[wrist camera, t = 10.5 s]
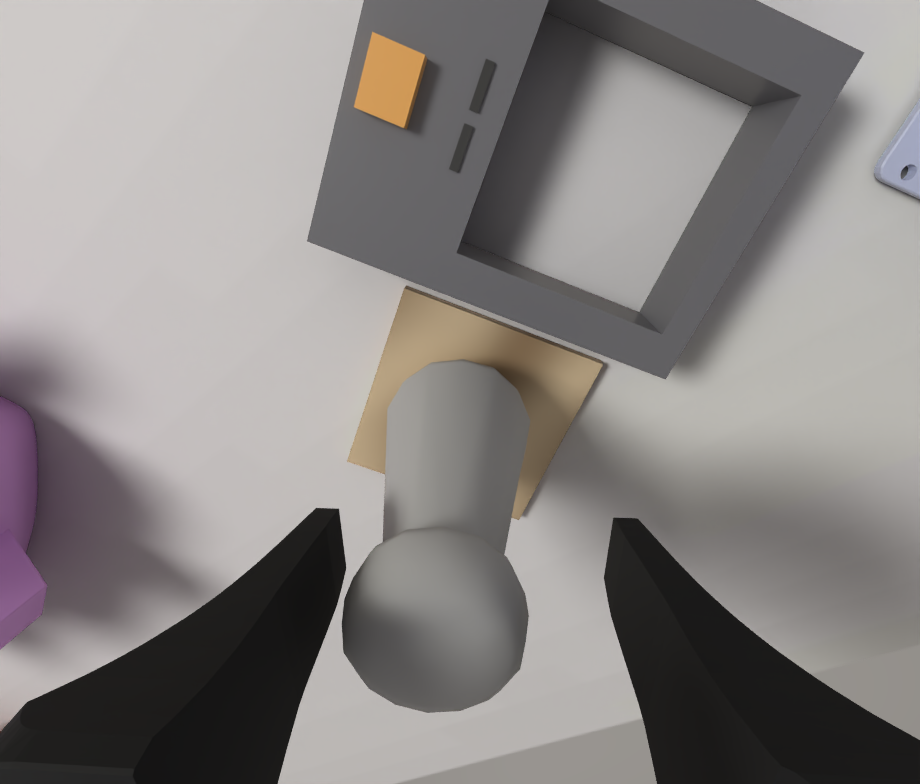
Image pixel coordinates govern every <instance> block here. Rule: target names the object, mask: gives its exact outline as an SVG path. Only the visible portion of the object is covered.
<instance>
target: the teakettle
mask: <svg viewBox="0 0 920 784" xmlns="http://www.w3.org/2000/svg"><path fill="white" fill-rule="evenodd" d="M37 495H38V457H37V441H36V433H35V428H34V424H33V421H32V419H31V417H30V415H29V414H28V412H27V411H26V410H25V409H24V408H22V407H20V406H19V405H17V404H15V403H14V402H12V401H10V400H7V399H5V398H3V397H1V396H0V649H1V648H3V647H4V646H5V645H6V644H7V643H9V642H10V641H11V640H12V639H13V638H14V637H16V636H17V635H18V634H19V633H20V632H21V631H23V630H24V629H25V628H26V627H27V626H29V625H30V624H31V623H32V622H33V621H34V620H36V619H37V618H38V617H39V616H40V615H42V611H43V606H44V601H45V595H46V590H47V584H46V582H45V581H44V579H43V578H42V576H41V575H40V573H39V572H38V570H37V569H36V567H35V566H34V565H33V563H32V562H31V560H30V559H29V557H28V556H27V554H26V551H27V547H28V544H29V541H30V537H31V533H32V529H33V525H34V521H35V515H36V508H37Z"/></svg>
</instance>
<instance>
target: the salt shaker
mask: <svg viewBox="0 0 920 784" xmlns="http://www.w3.org/2000/svg"><path fill="white" fill-rule="evenodd" d="M529 426H530V418H529V416H528V413H527V411H526V409H525V406H524V404H523V401H522V399H521V396H520V394H519V392H518V390H517V389H516V388H515V387H514V386H513V385H512V384H511V383H510V382H509V381H508V380H507V379H506V378H505V377H504V376H503V375H501V374H500V373H499V372H498V371H497V370H496V369H495V368H493V367H490V366H486V365H483V364H479V363H476V362H472V361H468V360H465V359H459V360H450V361H440V362H431V363H430V364H428V365H427V366H425V367H424V368H422V369H421V370H419V371H418V372H416V373H415V374H413V375H412V376H410V377H409V378H407V379H406V380H405V381H404V382H403V383H402V385H401V387H400V388H399V390H398V392H397V393H396V395H395V397H394V398H393V400H392V402H391V403H390V405H389V407H388V408H387V436H386V465H385V494H384V522H383V542H382V543H381V544H379V545H377V546H376V547H375V548H374V549H373V550H372V551H371V552H370V554H369V555H368V557H367V558H366V560H365V561H364V563H363V564H362V566H361V567H360V569H359V570H358V572H357V573H356V575H355V576H354V578H353V580H352V582H351V585H350V587H349V589H348V592H347V594H346V597H345V600H344V609H343V618H342V634H343V651H344V654H345V655H346V657H347V658H348V660H349V661H350V663H351V664H352V666H353V667H354V669H355V670H356V672H357V673H358V675H359V676H360V678H361V679H362V680H363V681H364V683H365V684H366V685H367V687H368V688H369V689H371V690H372V691H374V692H376V693H377V694H379V695H380V696H382V697H384V698H385V699H387V700H389V701H390V702H392V703H394V704H395V705H399V706H403V707H407V708H411V709H415V710H419V711H423V712H427V713H430V712H448V711H461V710H464V709H466V708H469V707H471V706H474V705H477V704H479V703H482V702H485V701H487V700H489V699H490V698H492V697H493V696H494V695H495V694H497V693H498V692H499V691H500V690H501V689H502V688H503V687H504V686H505V685H506V684H507V683H508V682H509V680H510V679H511V678H512V677H513V676H514V675H515V674H516V673H517V672H518V671H519V670H520V667H521V662H522V657H523V652H524V647H525V642H526V634H527V625H528V617H529V615H528V609H527V602H526V596H525V593H524V591H523V588H522V586H521V584H520V582H519V580H518V578H517V576H516V574H515V572H514V569H513V567H512V565H511V564H510V562H509V560H508V558H507V557H506V556H505V555H504V553H505V548H506V543H507V537H508V532H509V527H510V522H511V517H512V512H513V507H514V502H515V497H516V491H517V486H518V481H519V476H520V472H521V467H522V463H523V459H524V454H525V450H526V445H527V438H528V432H529Z"/></svg>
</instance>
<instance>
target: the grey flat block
mask: <svg viewBox="0 0 920 784" xmlns="http://www.w3.org/2000/svg"><path fill="white" fill-rule="evenodd" d="M544 12H547V13H549V14H552V15H554V16H556V17H558V18H560V19H563V20H565V21H567V22H569V23H571V24H573V25H576V26H578V27H580V28H582V29H584V30H587V31H589V32H591V33H593V34H595V35H597V36H600V37H602V38H604V39H606V40H608V41H611V42H613V43H615V44H617V45H619V46H621V47H624V48H626V49H628V50H630V51H632V52H635V53H637V54H639V55H641V56H643V57H645V58H648V59H650V60H652V61H654V62H656V63H659V64H661V65H663V66H665V67H667V68H669V69H672V70H674V71H676V72H678V73H680V74H683V75H685V76H687V77H689V78H691V79H693V80H696V81H698V82H700V83H702V84H704V85H707V86H709V87H711V88H713V89H715V90H717V91H720V92H722V93H724V94H726V95H728V96H731V97H733V98H735V99H737V100H739V101H741V102H744V103H746V104H748V105H750V106H752V108H751V110H750V112H749V114H748V116H747V117H746V119H745V121H744V123H743V125H742V127H741V128H740V130H739V132H738V134H737V136H736V137H735V139H734V141H733V143H732V145H731V147H730V148H729V150H728V152H727V154H726V156H725V157H724V159H723V161H722V163H721V165H720V167H719V168H718V170H717V172H716V174H715V176H714V178H713V179H712V181H711V183H710V185H709V187H708V188H707V190H706V192H705V194H704V196H703V198H702V199H701V201H700V203H699V205H698V207H697V209H696V210H695V212H694V214H693V216H692V218H691V219H690V221H689V223H688V225H687V227H686V229H685V230H684V232H683V234H682V236H681V238H680V239H679V241H678V243H677V245H676V247H675V249H674V250H673V252H672V254H671V256H670V258H669V260H668V261H667V263H666V265H665V267H664V269H663V270H662V272H661V274H660V276H659V278H658V280H657V281H656V283H655V285H654V287H653V289H652V291H651V292H650V294H649V296H648V298H647V300H646V301H645V303H644V305H643V307H642V309H641V311H640V312H637V311H634V310H632V309H629V308H627V307H624V306H622V305H619V304H617V303H614V302H612V301H609V300H607V299H604V298H602V297H599V296H597V295H594V294H592V293H589V292H587V291H584V290H582V289H579V288H577V287H574V286H572V285H569V284H567V283H564V282H562V281H559V280H557V279H554V278H552V277H549V276H546V275H544V274H541V273H539V272H536V271H534V270H531V269H529V268H526V267H524V266H521V265H519V264H516V263H514V262H511V261H509V260H506V259H504V258H501V257H499V256H496V255H494V254H491V253H489V252H486V251H484V250H481V249H479V248H476V247H474V246H471V245H469V244H466V243H464V242H461V239H462V236H463V234H464V231H465V228H466V225H467V223H468V220H469V217H470V214H471V212H472V209H473V206H474V204H475V201H476V198H477V195H478V193H479V190H480V187H481V184H482V182H483V179H484V176H485V173H486V171H487V168H488V165H489V162H490V160H491V157H492V154H493V152H494V149H495V146H496V143H497V141H498V138H499V135H500V132H501V130H502V127H503V124H504V121H505V119H506V116H507V113H508V110H509V108H510V105H511V102H512V100H513V97H514V94H515V91H516V89H517V86H518V83H519V80H520V78H521V75H522V72H523V69H524V67H525V64H526V61H527V58H528V56H529V53H530V50H531V48H532V45H533V42H534V39H535V37H536V34H537V31H538V28H539V26H540V23H541V20H542V17H543V15H544ZM863 54H864V52H862V51H860V50H858V49H856V48H854V47H852V46H849V45H847V44H845V43H843V42H841V41H839V40H837V39H835V38H833V37H831V36H829V35H827V34H825V33H823V32H821V31H818V30H816V29H814V28H812V27H810V26H808V25H806V24H804V23H802V22H800V21H798V20H796V19H794V18H792V17H790V16H787V15H785V14H783V13H781V12H779V11H777V10H775V9H773V8H771V7H769V6H767V5H765V4H763V3H761V2H759V1H756V0H364V2H363V7H362V11H361V15H360V19H359V23H358V28H357V32H356V36H355V40H354V45H353V49H352V53H351V57H350V62H349V66H348V70H347V74H346V79H345V83H344V87H343V91H342V96H341V100H340V104H339V108H338V112H337V117H336V121H335V125H334V129H333V134H332V138H331V142H330V146H329V151H328V155H327V159H326V163H325V168H324V172H323V176H322V180H321V185H320V189H319V193H318V197H317V201H316V206H315V210H314V214H313V218H312V223H311V227H310V231H309V235H308V240H307V241H308V242H311V243H313V244H316V245H318V246H321V247H324V248H326V249H329V250H331V251H334V252H337V253H339V254H342V255H344V256H347V257H350V258H352V259H355V260H357V261H360V262H363V263H365V264H368V265H370V266H373V267H375V268H378V269H381V270H383V271H386V272H388V273H391V274H394V275H396V276H399V277H401V278H404V279H407V280H409V281H412V282H414V283H417V284H420V285H422V286H425V287H427V288H430V289H432V290H435V291H438V292H440V293H443V294H445V295H448V296H451V297H453V298H456V299H458V300H461V301H464V302H466V303H469V304H471V305H474V306H477V307H479V308H482V309H484V310H487V311H490V312H492V313H495V314H497V315H500V316H502V317H505V318H508V319H510V320H513V321H515V322H518V323H521V324H523V325H526V326H528V327H531V328H534V329H536V330H539V331H541V332H544V333H547V334H549V335H552V336H554V337H557V338H560V339H562V340H565V341H567V342H570V343H572V344H575V345H578V346H580V347H583V348H585V349H588V350H591V351H593V352H596V353H598V354H601V355H604V356H606V357H609V358H611V359H614V360H617V361H619V362H622V363H624V364H627V365H629V366H632V367H635V368H637V369H640V370H642V371H645V372H648V373H650V374H653V375H655V376H658V377H661V378H663V379H666V378H667V376H668V374H669V373H670V371H671V369H672V368H673V366H674V365H675V363H676V361H677V360H678V358H679V356H680V355H681V353H682V351H683V350H684V348H685V346H686V345H687V343H688V342H689V340H690V338H691V337H692V335H693V333H694V332H695V330H696V328H697V327H698V325H699V323H700V322H701V320H702V319H703V317H704V315H705V314H706V312H707V310H708V309H709V307H710V305H711V304H712V302H713V300H714V299H715V297H716V296H717V294H718V292H719V291H720V289H721V287H722V286H723V284H724V282H725V281H726V279H727V277H728V276H729V274H730V273H731V271H732V269H733V268H734V266H735V264H736V263H737V261H738V259H739V258H740V256H741V254H742V253H743V251H744V250H745V248H746V246H747V245H748V243H749V241H750V240H751V238H752V236H753V235H754V233H755V231H756V230H757V228H758V227H759V225H760V223H761V222H762V220H763V218H764V217H765V215H766V213H767V212H768V210H769V208H770V207H771V205H772V204H773V202H774V200H775V199H776V197H777V195H778V194H779V192H780V190H781V189H782V187H783V185H784V184H785V182H786V181H787V179H788V177H789V176H790V174H791V172H792V171H793V169H794V167H795V166H796V164H797V162H798V161H799V159H800V158H801V156H802V154H803V153H804V151H805V149H806V148H807V146H808V144H809V143H810V141H811V139H812V138H813V136H814V135H815V133H816V131H817V130H818V128H819V126H820V125H821V123H822V121H823V120H824V118H825V116H826V115H827V113H828V112H829V110H830V108H831V107H832V105H833V103H834V102H835V100H836V98H837V97H838V95H839V93H840V92H841V90H842V89H843V87H844V85H845V84H846V82H847V80H848V79H849V77H850V75H851V74H852V72H853V70H854V69H855V67H856V66H857V64H858V62H859V61H860V59H861V57H862V56H863Z"/></svg>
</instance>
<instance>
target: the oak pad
mask: <svg viewBox="0 0 920 784" xmlns="http://www.w3.org/2000/svg"><path fill="white" fill-rule="evenodd" d="M459 359H465V360H468V361H472V362H476V363H479V364H483V365H486V366H490V367H493V368H495V369H496V370H497V371H498V372H499V373H500V374H501V375H503V376H504V377H505V378H506V379H507V380H508V381H509V382H510V383H511V384H512V385H513V386H514V387H515V388H516V389H517V390H518V392H519V394H520V396H521V399H522V401H523V404H524V406H525V409H526V411H527V413H528V416H529V418H530V426H529V432H528V438H527V445H526V450H525V454H524V459H523V463H522V467H521V472H520V476H519V481H518V486H517V491H516V497H515V502H514V507H513V512H512V517H511V518H514V519H517V520H519V519H520V517H521V515H522V513H523V511H524V510H525V508H526V506H527V504H528V502H529V500H530V499H531V497H532V495H533V493H534V491H535V489H536V487H537V486H538V484H539V482H540V480H541V478H542V476H543V475H544V473H545V471H546V469H547V467H548V465H549V463H550V462H551V460H552V458H553V456H554V454H555V452H556V451H557V449H558V447H559V445H560V443H561V441H562V439H563V438H564V436H565V434H566V432H567V430H568V428H569V427H570V425H571V423H572V421H573V419H574V417H575V415H576V414H577V412H578V410H579V408H580V406H581V404H582V403H583V401H584V399H585V397H586V395H587V393H588V391H589V390H590V388H591V386H592V384H593V382H594V380H595V379H596V377H597V375H598V373H599V371H600V369H601V367H602V366H603V364H602V362H601V360H598V359H596V358H593V357H590V356H588V355H585V354H583V353H580V352H577V351H575V350H572V349H570V348H567V347H564V346H562V345H559V344H557V343H554V342H551V341H549V340H546V339H544V338H541V337H538V336H536V335H533V334H531V333H528V332H525V331H523V330H520V329H518V328H515V327H512V326H510V325H507V324H505V323H502V322H499V321H497V320H494V319H492V318H489V317H486V316H484V315H481V314H479V313H476V312H473V311H471V310H468V309H466V308H463V307H460V306H458V305H455V304H453V303H450V302H447V301H445V300H442V299H440V298H437V297H434V296H432V295H429V294H427V293H424V292H421V291H419V290H416V289H414V288H411V287H408V286H406V287H405V288H404V291H403V294H402V297H401V300H400V303H399V306H398V309H397V312H396V315H395V318H394V321H393V324H392V327H391V330H390V333H389V336H388V339H387V342H386V345H385V348H384V351H383V354H382V357H381V360H380V363H379V366H378V369H377V372H376V375H375V378H374V381H373V385H372V388H371V391H370V394H369V397H368V400H367V403H366V406H365V409H364V412H363V415H362V418H361V421H360V424H359V427H358V430H357V433H356V436H355V439H354V442H353V445H352V448H351V451H350V454H349V457H348V460H347V462H350V463H353V464H356V465H359V466H362V467H365V468H368V469H371V470H374V471H377V472H380V473H383V474H385V465H386V436H387V408H388V407H389V405H390V403H391V402H392V400H393V398H394V397H395V395H396V393H397V392H398V390H399V388H400V387H401V385H402V383H403V382H404V381H405V380H406V379H407V378H409V377H410V376H412V375H413V374H415V373H416V372H418V371H419V370H421V369H422V368H424V367H425V366H427V365H428V364H430V363H431V362H440V361H450V360H459Z"/></svg>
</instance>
